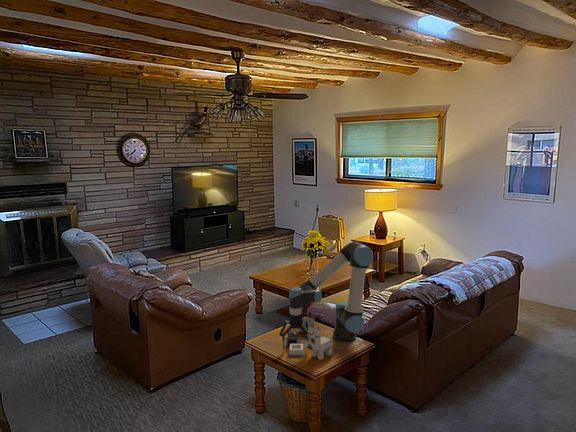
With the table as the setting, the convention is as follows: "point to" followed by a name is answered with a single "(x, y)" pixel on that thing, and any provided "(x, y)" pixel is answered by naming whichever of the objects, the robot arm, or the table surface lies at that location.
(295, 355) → the slate mat
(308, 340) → the toy llama
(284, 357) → the table surface
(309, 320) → the teacup
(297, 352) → the cream ring
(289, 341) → the ring stand
